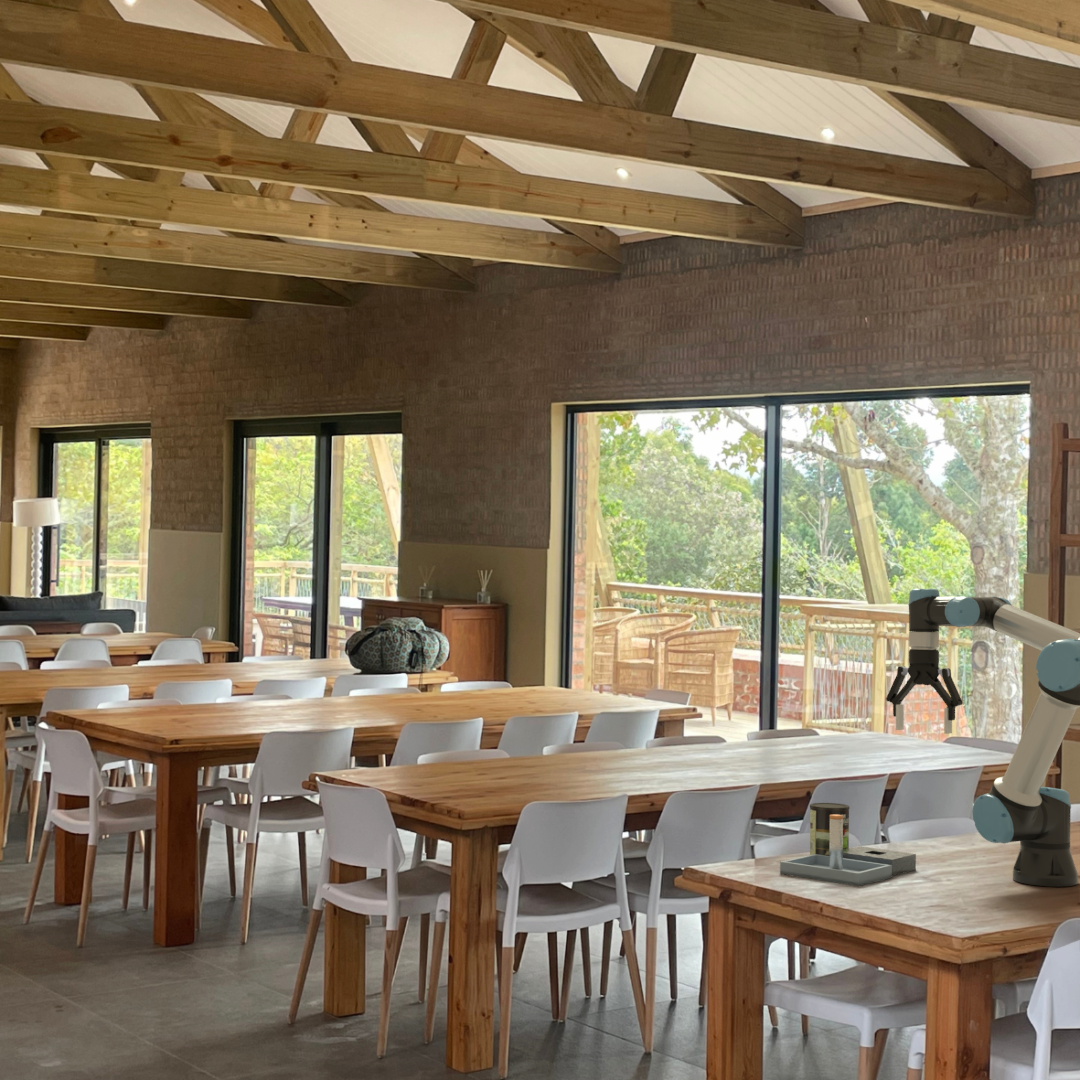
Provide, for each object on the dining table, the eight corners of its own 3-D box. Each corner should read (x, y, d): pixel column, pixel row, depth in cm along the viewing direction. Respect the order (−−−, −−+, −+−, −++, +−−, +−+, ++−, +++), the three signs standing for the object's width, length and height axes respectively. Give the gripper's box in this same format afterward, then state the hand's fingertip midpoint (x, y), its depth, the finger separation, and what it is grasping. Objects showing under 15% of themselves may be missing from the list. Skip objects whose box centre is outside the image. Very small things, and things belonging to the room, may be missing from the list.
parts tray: (891, 877, 366) (891, 865, 367) (858, 886, 355) (858, 873, 355) (814, 865, 381) (814, 854, 381) (780, 873, 369) (780, 861, 369)
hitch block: (915, 869, 377) (915, 853, 378) (892, 875, 369) (892, 859, 369) (859, 861, 388) (860, 846, 388) (835, 867, 379) (835, 851, 379)
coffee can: (857, 860, 390) (857, 806, 391) (827, 863, 385) (827, 808, 386) (830, 854, 399) (831, 801, 400) (801, 857, 394) (801, 803, 394)
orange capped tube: (845, 872, 368) (845, 815, 369) (838, 874, 366) (838, 816, 366) (833, 870, 370) (834, 814, 371) (826, 872, 368) (827, 815, 368)
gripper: (976, 649, 377) (975, 734, 376) (887, 646, 394) (887, 727, 393) (962, 650, 371) (962, 735, 371) (873, 647, 388) (872, 728, 387)
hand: (923, 731), depth 382 cm, fingers open, 13 cm apart
